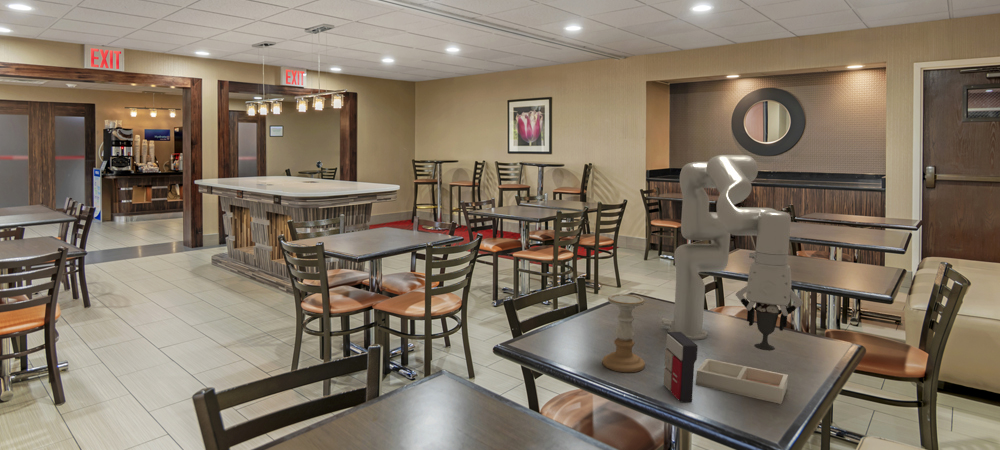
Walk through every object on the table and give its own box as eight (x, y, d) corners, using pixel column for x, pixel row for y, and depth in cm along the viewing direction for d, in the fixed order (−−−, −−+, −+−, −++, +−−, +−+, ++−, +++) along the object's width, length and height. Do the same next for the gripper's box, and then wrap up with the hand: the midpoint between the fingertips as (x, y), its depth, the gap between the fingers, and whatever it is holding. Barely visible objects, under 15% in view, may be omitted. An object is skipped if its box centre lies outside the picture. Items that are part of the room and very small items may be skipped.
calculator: (661, 385, 153) (664, 331, 151) (677, 384, 154) (680, 331, 152) (677, 403, 143) (681, 345, 141) (694, 402, 143) (697, 345, 141)
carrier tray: (695, 384, 154) (696, 370, 153) (705, 371, 163) (706, 358, 162) (781, 404, 143) (782, 389, 142) (786, 389, 152) (788, 374, 151)
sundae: (782, 352, 145) (787, 295, 143) (754, 350, 146) (758, 293, 144) (775, 344, 151) (779, 289, 149) (748, 342, 152) (752, 287, 150)
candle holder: (594, 360, 171) (596, 295, 168) (628, 355, 176) (631, 291, 173) (618, 375, 160) (621, 305, 157) (653, 369, 164) (657, 301, 162)
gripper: (732, 257, 147) (728, 324, 149) (808, 265, 138) (802, 337, 140) (738, 253, 153) (733, 317, 156) (811, 260, 144) (805, 329, 146)
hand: (766, 326), depth 148 cm, fingers closed on sundae, 6 cm apart
